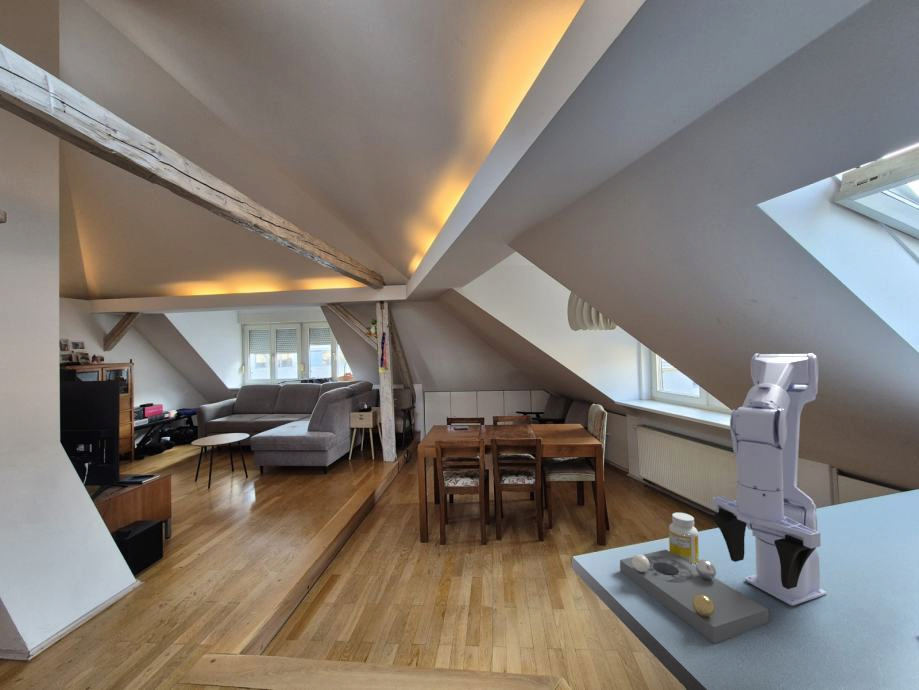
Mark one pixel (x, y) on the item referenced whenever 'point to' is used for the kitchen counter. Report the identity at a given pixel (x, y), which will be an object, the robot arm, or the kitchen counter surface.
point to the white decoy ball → (640, 563)
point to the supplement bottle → (684, 538)
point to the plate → (680, 589)
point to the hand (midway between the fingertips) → (761, 572)
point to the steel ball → (706, 569)
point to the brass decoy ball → (703, 605)
